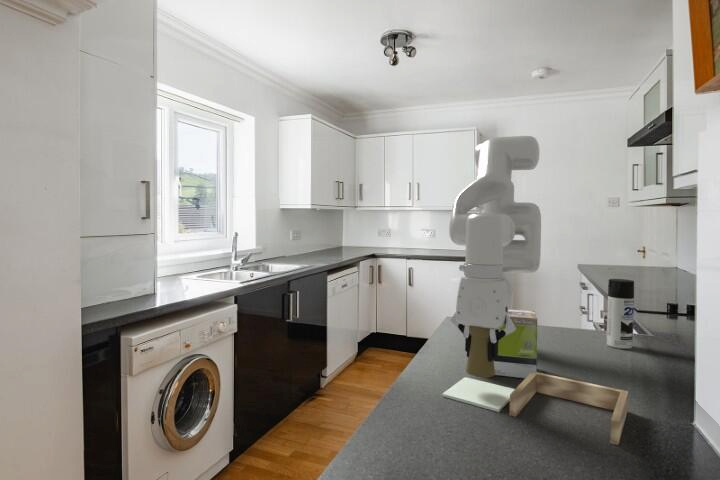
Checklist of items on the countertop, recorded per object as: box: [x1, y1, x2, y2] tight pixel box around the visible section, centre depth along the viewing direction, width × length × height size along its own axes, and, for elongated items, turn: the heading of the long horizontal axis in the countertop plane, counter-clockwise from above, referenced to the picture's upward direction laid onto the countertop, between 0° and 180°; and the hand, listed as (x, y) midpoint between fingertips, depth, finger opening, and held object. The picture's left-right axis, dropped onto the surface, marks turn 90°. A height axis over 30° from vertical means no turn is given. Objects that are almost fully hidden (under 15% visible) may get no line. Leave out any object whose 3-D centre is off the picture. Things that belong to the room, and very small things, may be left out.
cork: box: [465, 326, 496, 378], centre depth 91 cm, size 6×6×11 cm
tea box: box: [494, 309, 538, 379], centre depth 106 cm, size 15×10×15 cm
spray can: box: [606, 278, 635, 350], centre depth 127 cm, size 7×7×20 cm
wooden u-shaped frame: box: [509, 371, 629, 446], centre depth 83 cm, size 18×16×4 cm
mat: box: [441, 376, 516, 413], centre depth 92 cm, size 12×12×1 cm
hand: (481, 356), depth 91 cm, fingers closed on cork, 3 cm apart
